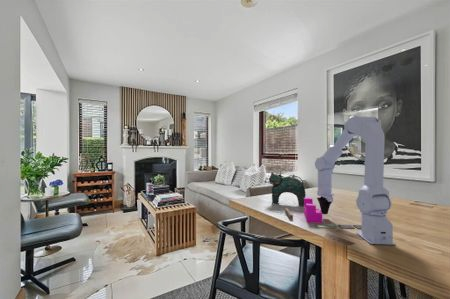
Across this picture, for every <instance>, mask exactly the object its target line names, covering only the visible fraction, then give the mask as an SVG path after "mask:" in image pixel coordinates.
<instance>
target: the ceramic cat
mask: <svg viewBox="0 0 450 299" xmlns="http://www.w3.org/2000/svg"><path fill="white" fill-rule="evenodd" d="M282 171H285V172H288V171H287V170H286V169H285V168H282V169H280V173H279V174H278V173H274V172H271V173H270V176H269V178H268V179H269V180H268V181H269V183H270V184H271V185H272V188H271V203H272V204H273V203H274V204H275V205H278V204H279V203H278V202H279V201H280V196H281V195H282V194H284V193H285V194H286V193H290V194H293V195H295V196H296V198H297V202H298V203H297V204H298V206H299V207H304V198H306V189H305V187H304V186H305V185H304V181H303V180H302V178H301V177H300V176H297V175H294V176H292V175H287V176H283V175H282V173H281V172H282ZM277 203H278V204H277Z"/></svg>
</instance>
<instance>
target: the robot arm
mask: <svg viewBox="0 0 450 299" xmlns="http://www.w3.org/2000/svg"><path fill="white" fill-rule="evenodd" d="M346 120H347V121H346V122H345V123H344V124H343V125H344V128H343V130H342V132H341V134H340V135H339V137H338V138H337V140H336V141H335V143H334V144H331V145H329V146H328V147H327V149H326V150H325V152H324V153H323V155H322V156H320V157H316V159H315V161H314V166H315V169H316V171H317V191H316V195H317V196H318V197H316V199H317V201H318V204H319V208H320V211H321V212H322V215H328V213H329V210H330V207H331V204H332V203H333V202H334V196H335V193H333V192H332V189H333V188H332V174H333V172H334V168H335V163H336V161H338V159H339V158H340V157H342V156H341V155H342V154H343V149H344V148H345V147H346V146H347V145H348V144H349V143H350V142H351V140H353V138H354V137H360V138H361V139H362V140H364V141H365V146H364V147H365V151H364V176H363V177H364V184H363V186H362V187H361V188H359V190H358V195H357V197H356V200H355V204H356V207H357V209H358V210H359V212H360V213H361V225H362V229H361V231H356V235H358V236H359V237H360V238H362V239H363V240H365V241H366V242H368V244H371V245H373V244H374V245H394V246H395V245H396V242H394V241H393V239H394V238H393V237H394V236H393V235H394V234H393V231H394V230H393V228H394V227H393V223H392V222H391V221H390V220H389V219H388V218H387V214H388V211H389V210H390V209H391V207H392V201H391V198H390V192H389V190H388V189H387V188H386V187H385V186H384V171H385V170H384V167H385V166H384V165H385V137H386V136H385V133H384V130H383V128H382V120H381V119H379V118H377V117H376V116H365V115H364V116H361V115H351V116H349V117H348V118H347V119H346Z"/></svg>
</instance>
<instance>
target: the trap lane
mask: <svg viewBox="0 0 450 299" xmlns="http://www.w3.org/2000/svg"><path fill="white" fill-rule="evenodd" d="M284 210H285V211H284V212H285V214H286V216H287V218H288V219H289V220H290V221H293V220H294V214H292V212H291V211H290V209H289V208H287V207H285V209H284ZM315 226H316V227H317V228H318V229H319V228H321V229H337V226H338V227H339V228H340V229H345V230H346V229H347V230H348V229H351V230H352V229H353V230H354V229H357V230H362V224H359V225H358V224H353V225H351V224H337V226H336V225H335V224H331V223H330V224H328V223H315Z"/></svg>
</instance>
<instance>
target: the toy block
mask: <svg viewBox="0 0 450 299" xmlns="http://www.w3.org/2000/svg"><path fill="white" fill-rule="evenodd" d="M303 214H304V217H305V222H306V223H315V224H323V214H322V212H321V209H319V208H317V205H316V204H315V203H314V201H313V198H312V197H305V198H304V206H303Z"/></svg>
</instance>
